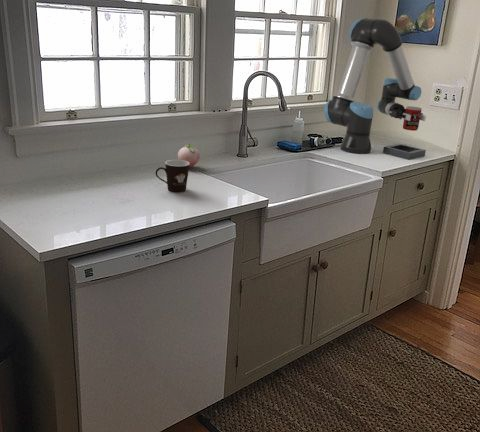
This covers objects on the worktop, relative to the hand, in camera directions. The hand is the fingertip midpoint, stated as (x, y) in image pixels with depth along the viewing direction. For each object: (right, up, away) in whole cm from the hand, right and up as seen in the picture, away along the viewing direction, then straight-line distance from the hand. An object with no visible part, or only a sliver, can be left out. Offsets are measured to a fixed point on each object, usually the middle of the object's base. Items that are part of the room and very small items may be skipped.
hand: (417, 118), depth 264 cm
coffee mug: (-113, -40, -75) cm, 141 cm away
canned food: (-2, -5, +7) cm, 8 cm away
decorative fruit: (-111, -30, -47) cm, 124 cm away
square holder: (-6, -18, +2) cm, 19 cm away
